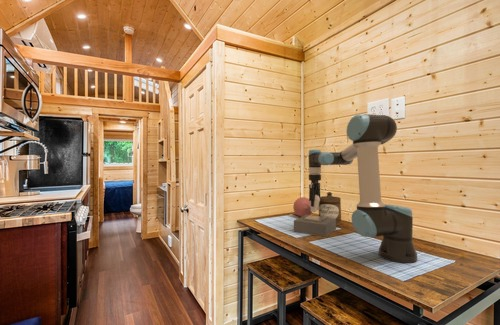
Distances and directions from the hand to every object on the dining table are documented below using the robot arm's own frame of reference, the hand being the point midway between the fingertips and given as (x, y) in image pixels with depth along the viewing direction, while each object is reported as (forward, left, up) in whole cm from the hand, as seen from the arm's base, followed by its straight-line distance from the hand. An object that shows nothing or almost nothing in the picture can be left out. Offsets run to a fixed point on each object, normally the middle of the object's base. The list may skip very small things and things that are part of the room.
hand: (314, 210), depth 161 cm
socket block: (0, 0, -12) cm, 12 cm away
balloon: (+31, +20, -13) cm, 39 cm away
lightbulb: (0, 0, -1) cm, 1 cm away
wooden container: (+23, -2, -13) cm, 26 cm away
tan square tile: (0, 0, -7) cm, 7 cm away
